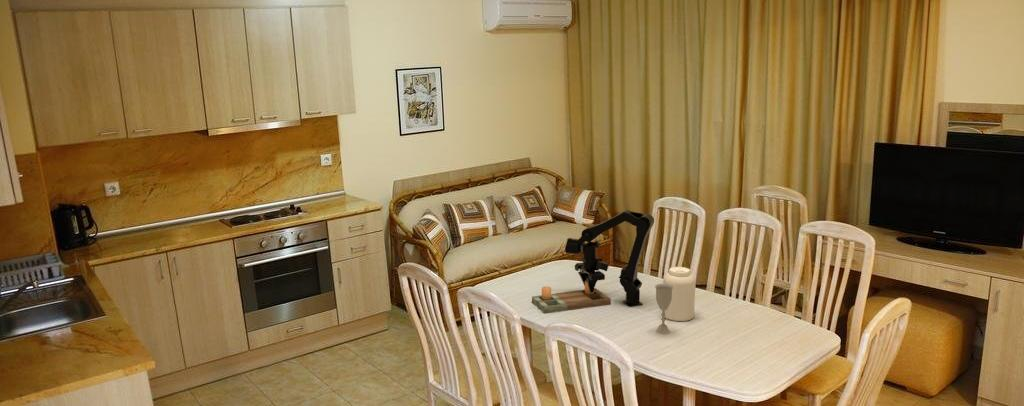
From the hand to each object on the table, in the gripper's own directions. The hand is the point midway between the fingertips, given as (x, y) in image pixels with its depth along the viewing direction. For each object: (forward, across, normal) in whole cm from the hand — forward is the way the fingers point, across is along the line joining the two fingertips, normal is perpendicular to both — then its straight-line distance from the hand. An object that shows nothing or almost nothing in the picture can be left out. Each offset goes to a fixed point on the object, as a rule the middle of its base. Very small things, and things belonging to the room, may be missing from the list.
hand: (589, 290), depth 325 cm
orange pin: (+3, 0, 0) cm, 3 cm away
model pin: (+4, 0, +20) cm, 20 cm away
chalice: (+4, -45, -10) cm, 47 cm away
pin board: (+4, -3, +10) cm, 11 cm away
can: (+4, -33, -24) cm, 41 cm away
